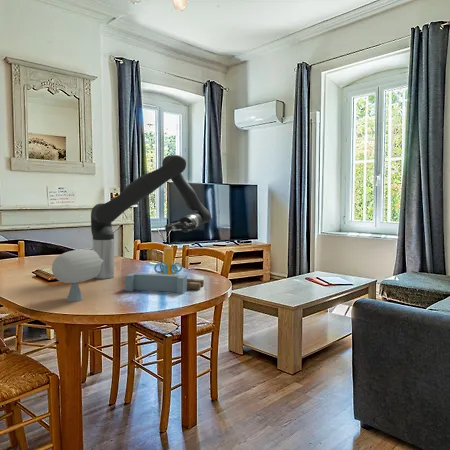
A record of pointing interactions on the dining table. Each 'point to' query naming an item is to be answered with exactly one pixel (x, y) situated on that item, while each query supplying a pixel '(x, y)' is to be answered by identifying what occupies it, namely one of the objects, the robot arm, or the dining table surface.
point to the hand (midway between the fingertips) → (175, 229)
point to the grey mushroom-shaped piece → (76, 269)
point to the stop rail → (156, 282)
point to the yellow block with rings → (168, 263)
